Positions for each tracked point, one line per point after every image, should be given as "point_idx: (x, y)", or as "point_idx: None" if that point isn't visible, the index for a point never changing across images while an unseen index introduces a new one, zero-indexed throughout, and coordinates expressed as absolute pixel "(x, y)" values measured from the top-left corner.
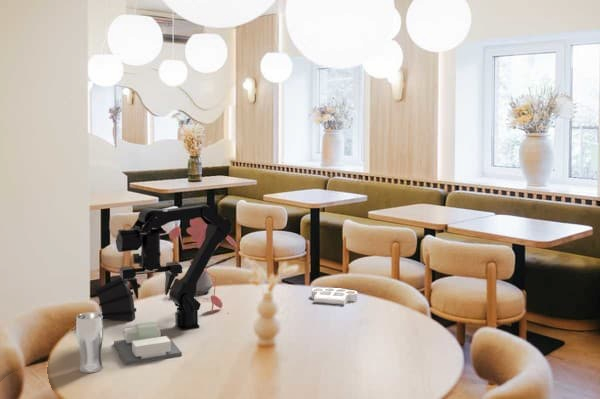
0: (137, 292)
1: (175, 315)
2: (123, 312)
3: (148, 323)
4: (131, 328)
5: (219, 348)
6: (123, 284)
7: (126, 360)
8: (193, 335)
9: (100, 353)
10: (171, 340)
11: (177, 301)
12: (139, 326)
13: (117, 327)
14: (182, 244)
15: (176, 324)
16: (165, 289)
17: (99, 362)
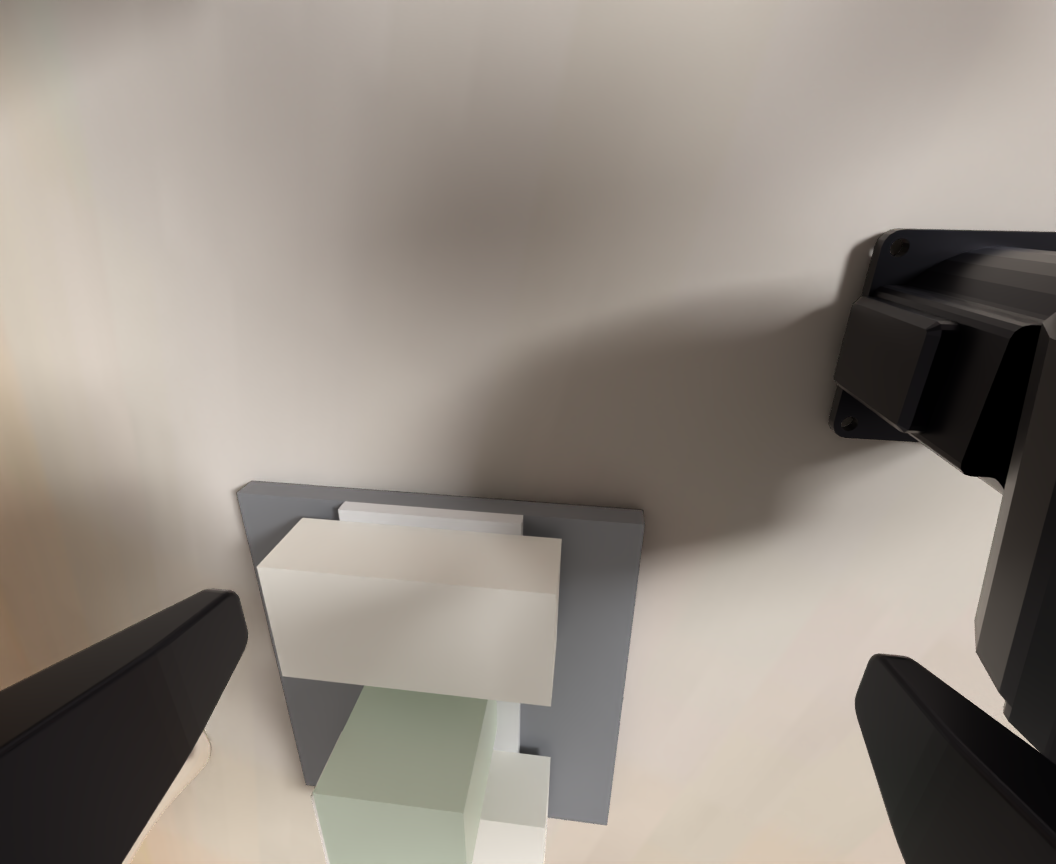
0: (129, 825)
1: (907, 334)
2: None
3: (415, 824)
4: (321, 590)
5: (848, 823)
6: None
7: (311, 781)
8: (847, 582)
9: (144, 839)
10: (625, 664)
11: (984, 665)
12: (333, 842)
13: (273, 11)
14: None
15: (846, 348)
16: (953, 812)
17: (172, 801)
